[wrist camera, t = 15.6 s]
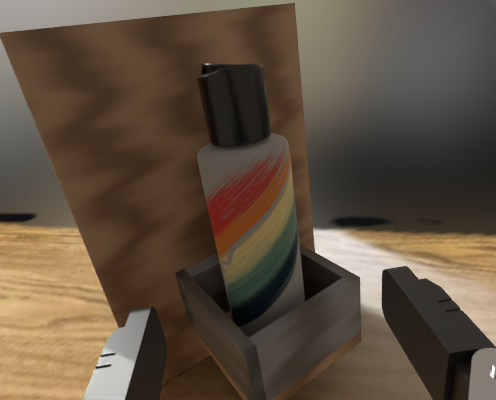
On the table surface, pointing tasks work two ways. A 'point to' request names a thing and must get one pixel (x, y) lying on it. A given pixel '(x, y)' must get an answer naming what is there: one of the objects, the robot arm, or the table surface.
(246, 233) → the lotion bottle
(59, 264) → the table surface
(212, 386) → the table surface
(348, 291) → the bracket
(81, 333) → the table surface
